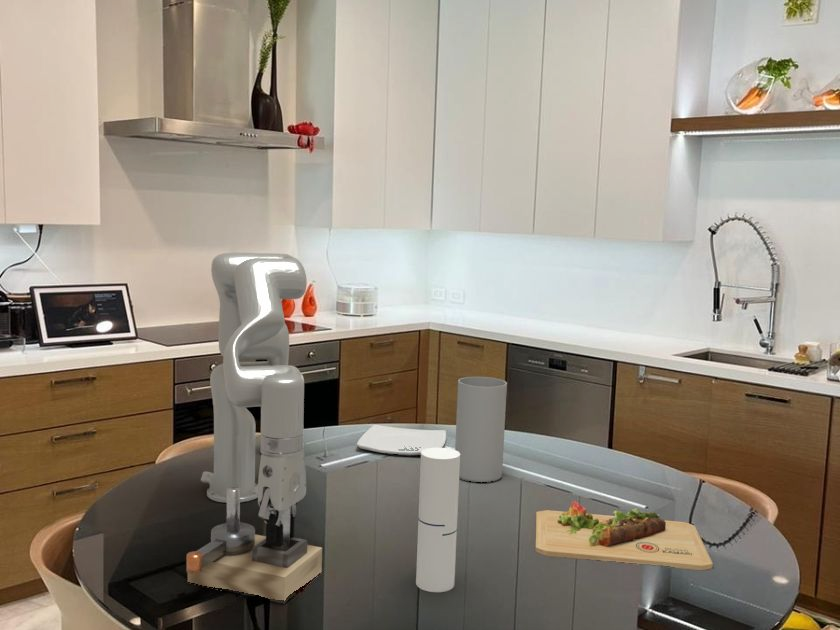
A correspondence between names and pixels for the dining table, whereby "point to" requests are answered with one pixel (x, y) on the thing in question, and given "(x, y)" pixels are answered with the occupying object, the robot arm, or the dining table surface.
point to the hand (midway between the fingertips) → (280, 539)
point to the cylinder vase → (480, 428)
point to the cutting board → (620, 538)
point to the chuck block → (263, 569)
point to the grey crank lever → (224, 537)
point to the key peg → (284, 530)
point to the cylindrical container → (437, 519)
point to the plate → (400, 440)
